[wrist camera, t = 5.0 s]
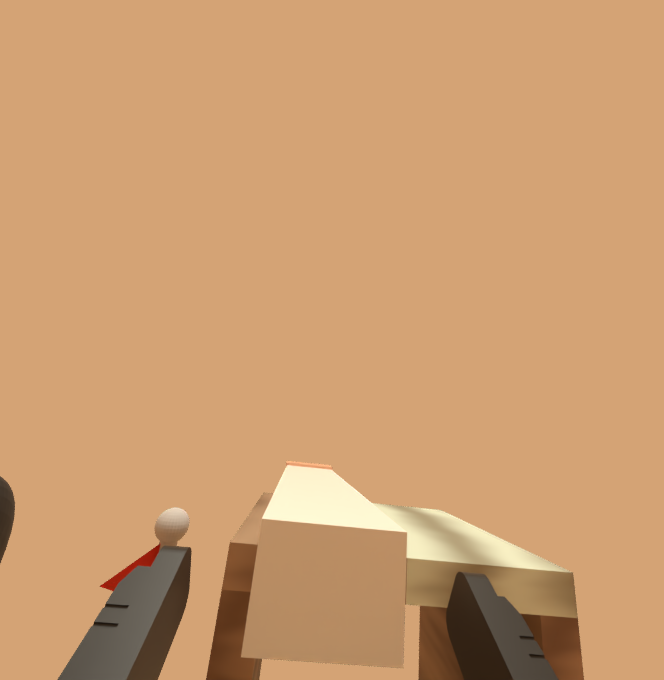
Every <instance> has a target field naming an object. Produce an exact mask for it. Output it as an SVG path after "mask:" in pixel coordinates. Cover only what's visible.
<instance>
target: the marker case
mask: <svg viewBox="0 0 664 680" xmlns="http://www.w3.org/2000/svg"><path fill="white" fill-rule="evenodd" d="M406 559H407V532H406V531H405V530H404V529H403V528H401V527H400V526H399V525H398V524H397V523H395V522H394V521H393V520H392V519H390V518H389V517H388V516H387V515H386V514H384V513H383V512H382V511H381V510H380V509H378V508H377V507H376V506H375V505H374V504H372V503H371V502H370V501H369V500H367V499H366V498H365V497H364V496H363V495H361V494H360V493H359V492H358V491H356V490H355V489H354V488H353V487H352V486H350V485H349V484H348V483H347V482H346V481H344V480H343V479H342V478H341V477H340V476H338V475H337V474H336V473H335V472H333V471H332V467H331V466H330V465H322V464H312V463H304V462H294V461H287V463H286V469H285V471H284V473H283V475H282V477H281V479H280V481H279V483H278V486H277V488H276V490H275V492H274V494H273V496H272V498H271V500H270V502H269V504H268V507H267V509H266V511H265V513H264V515H263V517H262V520H261V527H260V534H259V540H258V547H257V553H256V560H255V567H254V573H253V580H252V587H251V593H250V600H249V606H248V613H247V620H246V626H245V633H244V639H243V646H242V653H241V657H244V658H259V659H274V660H288V661H289V660H290V661H304V662H318V663H332V664H348V665H363V666H377V667H391V668H403V658H404V624H405V622H404V621H405V592H406Z"/></svg>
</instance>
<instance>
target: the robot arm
mask: <svg viewBox="0 0 664 680" xmlns="http://www.w3.org/2000/svg"><path fill="white" fill-rule="evenodd" d="M14 510H15V502H14V496H13V492H12V490H11V488H10V486H9V484H8V483H7V482H6V481H5V480H4V479H3V478H2V477H0V563H1V560H2V557H3V555H4V552H5V550H6V547H7V543H8V540H9V537H10V534H11V530H12V525H13V521H14ZM190 567H191V548H190V547H179V546H167V545H164V546H163V547H162V548H161V550H160V551H159V553H158V555H157V556H156V558H155V560H154V562H153V564H152V565H151V567H149V566H137V567H136V568H135V569H134V570H132V571H131V572H130V573H129V574H128V575H127V576H126V577H125V578H124V579H122V580H121V581H120V582H119V583H118V585H117V587H116V588H115V590H114V591H113V593H112V594H111V596H110V598H109V599H108V601H107V602H106V605H105V607H104V608H103V609H102V610H101V612H100V613H99V615H98V617H97V618H96V620H95V622H94V625H93V626H92V627H91V628H90V629H89V631H88V632H87V634H86V636H85V637H84V639H83V640H82V642H81V643H80V645H79V647H78V648H77V650H76V651H75V653H74V654H73V656H72V658H71V659H70V661H69V662H68V664H67V665H66V667H65V669H64V670H63V672H62V673H61V675H60V677H59V678H58V680H158V677H159V675H160V672H161V670H162V667H163V664H164V662H165V659H166V657H167V654H168V651H169V649H170V646H171V644H172V641H173V639H174V636H175V634H176V631H177V629H178V626H179V624H180V621H181V619H182V616H183V613H184V610H185V607H186V603H187V599H188V594H189V583H190ZM446 624H447V630H448V635H449V638H450V641H451V644H452V647H453V650H454V652H455V655H456V658H457V661H458V664H459V667H460V670H461V673H462V676H463V678H464V680H559V679H558V678H557V676H556V674H555V672H554V671H553V669H552V667H551V666H550V664H549V662H548V660H546V659H545V657H544V653H543V652H542V650H541V648H540V646H539V645H538V643H537V641H535V640H534V636H533V634H532V632H531V631H530V629H529V627H528V625H527V624H526V622H525V620H524V619H523V617H522V615H521V614H520V613H519V612H518V611H517V610H516V609H515V608H514V606H513V605H512V604H511V603H510V602H509V601H508V600H507V599H506V598H505V597H503V596H497V594H496V592H495V590H494V588H493V586H492V585H491V583H490V581H489V579H488V578H487V576H486V575H485V574H482V573H470V572H458V573H457V574H456V577H455V580H454V584H453V588H452V592H451V595H450V599H449V603H448V606H447V611H446Z"/></svg>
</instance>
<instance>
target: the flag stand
mask: <svg viewBox="0 0 664 680" xmlns="http://www.w3.org/2000/svg"><path fill="white" fill-rule="evenodd" d="M188 527H189V517H188V514H187V513H186V512H185V511H184V510H183V509H181V508H170V509H168V510H166V511H164V512H163V513H162V514H161V515H160V516H159V518H158V519H157V521H156V524H155V534H156V537H157V538H158V539H159V540H160V543H159V545H158V546H156V547H155V548H153V549H152V550H151V551H149V552H148V553H146V554H145V555H143V556H142V557H141V558H139V559H138V560H136V561H135V562H134V563H132V564H131V565H129V566H128V567H127V568H125V569H124V570H122V571H121V572H119V573H118V574H117V575H115V576H114V577H113V578H111V579H110V580H108V581H107V582H105V583H104V584H103V585H101V586H100V587H103V588H106V589H109V590H112V591H114V590H115V588H116V587H117V585H118V583H119V582H120V581H121V580H122V579H124V578H125V577H126V576H127V575H128V574H129V573H130V572H131V571H132V570H134V569H135V568H136V567H137V566H149V567H151V565H152V564H153V562H154V560H155V558H156V556H157V555H158V553H159V551H160V550H161V548H162V547H163V546H164V545H167V546H176V545H177V541H178V540H180V539H181V538H182V537H183V536H184V535H185V533H186V532H187V530H188Z"/></svg>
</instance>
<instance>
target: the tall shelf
mask: <svg viewBox="0 0 664 680" xmlns="http://www.w3.org/2000/svg"><path fill="white" fill-rule="evenodd" d="M272 496H273V493H263V495H262V496H261V497H260V499H259V500H258V502H257V503H256V505H255V506H254V508H253V509H252V511H251V512H250V514H249V516H248V517H247V518H246V520H245V521H244V523H243V524H242V525H241V527H240V528H239V530H238V531H237V533H236V534H235V536H234V537H233V539H232V540H231V542H230V545H229V551H228V557H227V563H226V569H225V575H224V580H223V586H222V592H221V598H220V603H219V609H218V614H217V620H216V626H215V632H214V637H213V643H212V649H211V655H210V660H209V666H208V672H207V678H206V680H259V676H260V669H261V662H262V659H259V658H244V657H241V653H242V646H243V639H244V633H245V626H246V620H247V613H248V606H249V600H250V593H251V587H252V580H253V573H254V567H255V560H256V553H257V547H258V540H259V534H260V527H261V520H262V517H263V515H264V513H265V511H266V509H267V507H268V504H269V502H270V500H271V498H272ZM372 504H373V503H372ZM374 505H375V506H376V507H377V508H378V509H380V510H381V511H382V512H383V513H384V514H386V515H387V516H388V517H389V518H390V519H392V520H393V521H394V522H395V523H397V524H398V525H399V526H400V527H401V528H403V529H404V530H405V531H406V532H407V559H406V592H405V604H408V605H419V606H420V637H419V680H464V678H463V676H462V673H461V670H460V667H459V664H458V661H457V658H456V655H455V652H454V650H453V647H452V644H451V641H450V638H449V635H448V630H447V624H446V611H447V606H448V603H449V599H450V595H451V592H452V588H453V584H454V580H455V577H456V574H457V573H458V572H470V573H482V574H485V575H486V576H487V578H488V579H489V581H490V583H491V585H492V586H493V588H494V590H495V592H496V594H497V596H503V597H505V598H506V599H507V600H508V601H509V602H510V603H511V604H512V605H513V606H514V608H515V609H516V610H517V611H518V612H519V613H520V614H521V615H522V617H523V619H524V620H525V622H526V624H527V625H528V627H529V629H530V631H531V632H532V634H533V636H534V640H535V641H537V643H538V645H539V646H540V648H541V650H542V652H543V653H544V657H545V659H546V660H548V662H549V664H550V666H551V667H552V669H553V671H554V672H555V674H556V676H557V678H558V679H559V680H584V676H583V667H582V656H581V648H580V636H579V627H578V617H577V608H576V597H575V587H574V578H573V573H572V572H570V571H568V570H566V569H564V568H562V567H560V566H558V565H556V564H553V563H551V562H549V561H547V560H545V559H543V558H541V557H539V556H537V555H534V554H532V553H530V552H528V551H526V550H524V549H522V548H520V547H518V546H515V545H513V544H511V543H509V542H507V541H505V540H503V539H501V538H498V537H497V536H494V535H492V534H490V533H488V532H486V531H484V530H482V529H480V528H478V527H475V526H473V525H471V524H469V523H467V522H465V521H463V520H461V519H459V518H457V517H454V516H452V515H450V514H448V513H446V512H444V511H442V510H435V509H424V508H414V507H404V506H394V505H384V504H374Z"/></svg>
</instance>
